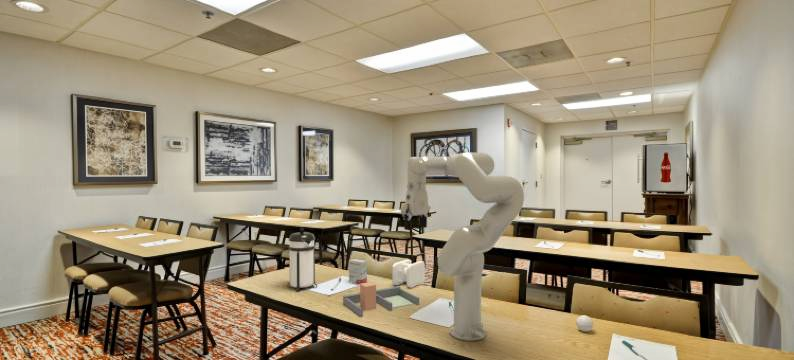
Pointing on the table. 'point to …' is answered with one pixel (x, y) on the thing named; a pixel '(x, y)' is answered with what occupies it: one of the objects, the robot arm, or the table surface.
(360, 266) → the ink box
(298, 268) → the coffee press
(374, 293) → the terracotta block
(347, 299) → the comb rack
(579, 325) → the white rounded lump
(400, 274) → the cable organizer
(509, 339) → the table surface
